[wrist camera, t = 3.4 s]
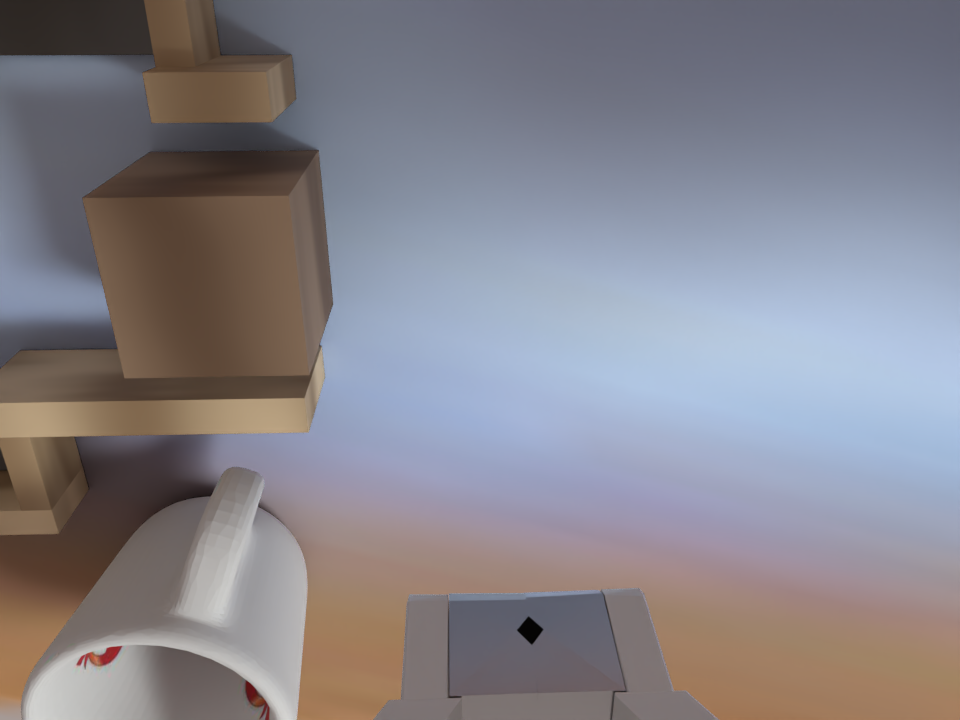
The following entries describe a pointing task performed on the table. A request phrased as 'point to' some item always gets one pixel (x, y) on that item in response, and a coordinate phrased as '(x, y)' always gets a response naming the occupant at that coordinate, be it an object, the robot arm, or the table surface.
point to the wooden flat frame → (98, 372)
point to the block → (214, 262)
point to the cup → (186, 620)
